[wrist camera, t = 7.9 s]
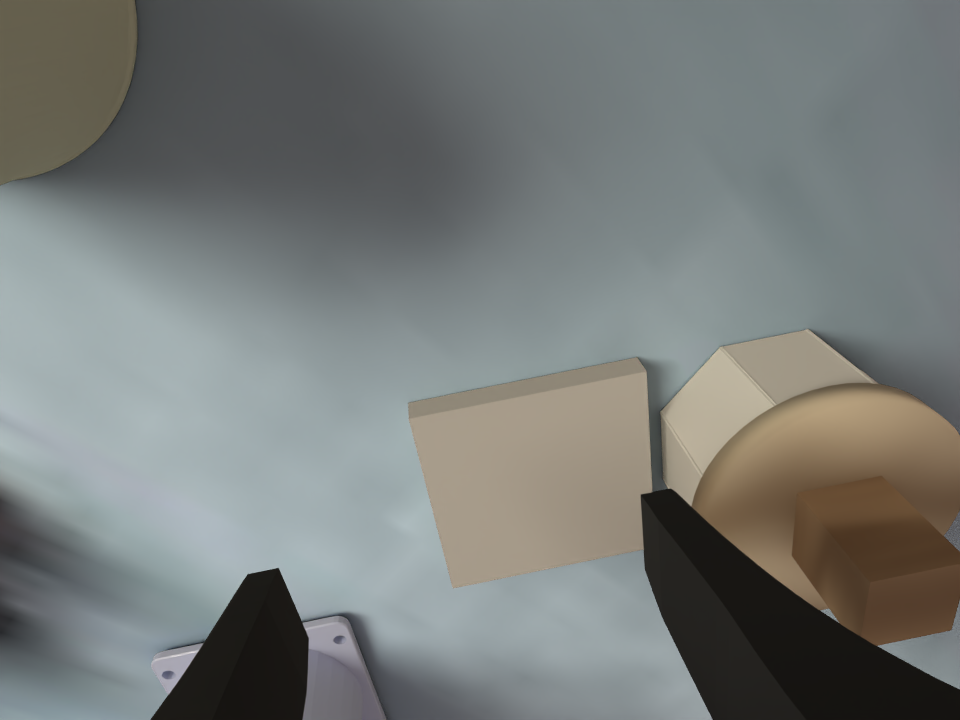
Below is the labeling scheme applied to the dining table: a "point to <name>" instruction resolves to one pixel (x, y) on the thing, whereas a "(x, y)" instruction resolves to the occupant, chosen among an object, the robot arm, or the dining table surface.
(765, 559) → the lid
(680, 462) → the bowl
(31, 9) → the can
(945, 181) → the dining table surface
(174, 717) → the robot arm
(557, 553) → the cream block
